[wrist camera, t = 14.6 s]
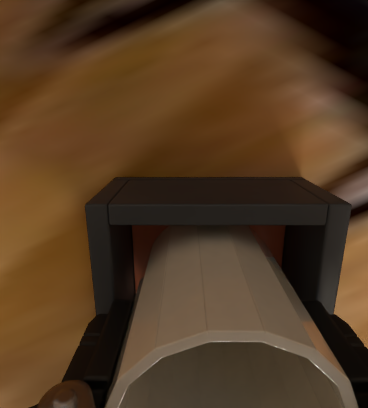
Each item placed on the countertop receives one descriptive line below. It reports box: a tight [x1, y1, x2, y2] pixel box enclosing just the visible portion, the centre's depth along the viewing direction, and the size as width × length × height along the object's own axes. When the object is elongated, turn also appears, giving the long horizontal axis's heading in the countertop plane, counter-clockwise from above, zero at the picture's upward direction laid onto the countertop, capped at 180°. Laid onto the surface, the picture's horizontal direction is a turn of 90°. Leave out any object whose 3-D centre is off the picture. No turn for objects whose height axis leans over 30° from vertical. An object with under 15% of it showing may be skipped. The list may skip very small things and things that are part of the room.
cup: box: [104, 225, 359, 408], centre depth 11 cm, size 6×6×8 cm
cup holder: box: [85, 177, 352, 316], centre depth 15 cm, size 9×18×5 cm, turn 0°
